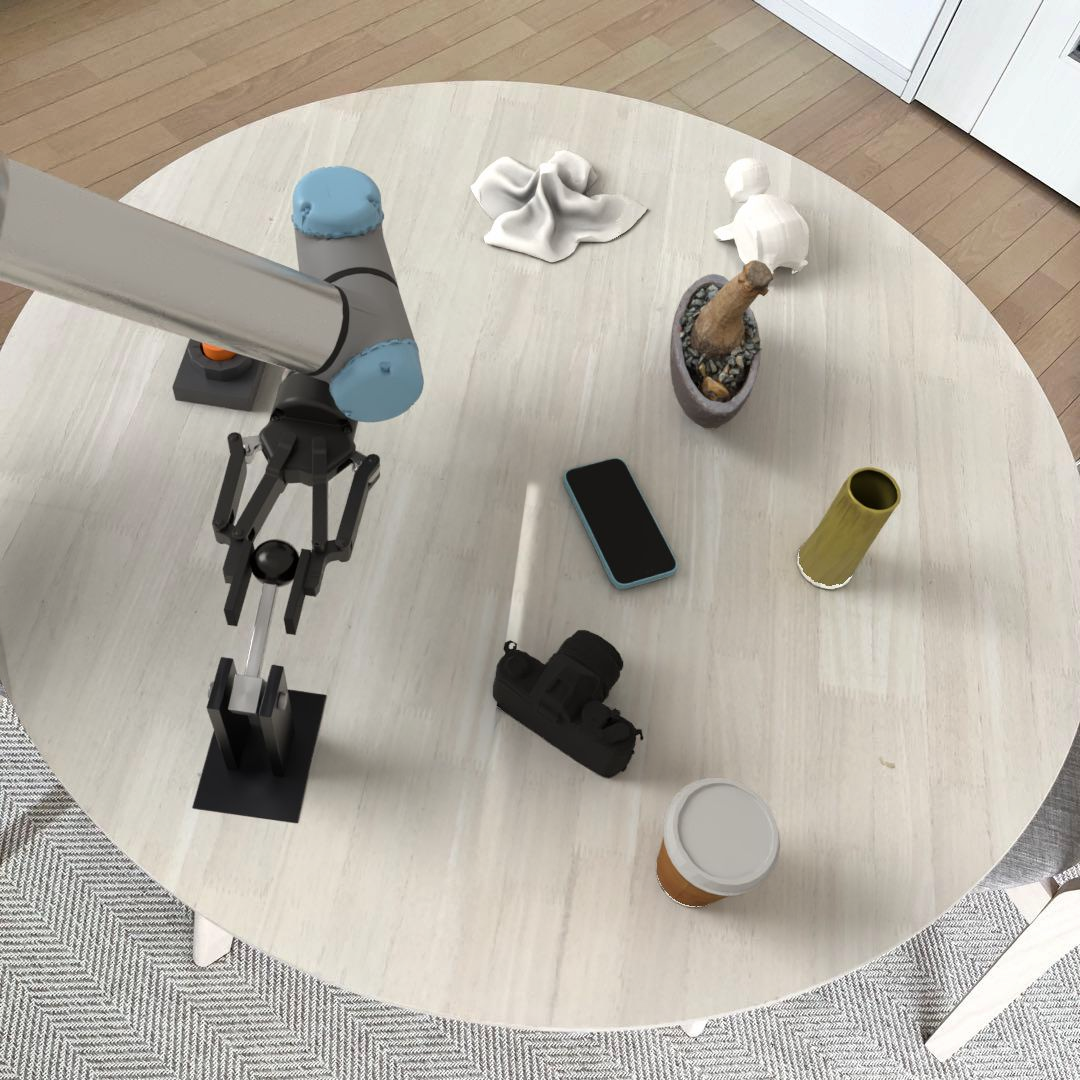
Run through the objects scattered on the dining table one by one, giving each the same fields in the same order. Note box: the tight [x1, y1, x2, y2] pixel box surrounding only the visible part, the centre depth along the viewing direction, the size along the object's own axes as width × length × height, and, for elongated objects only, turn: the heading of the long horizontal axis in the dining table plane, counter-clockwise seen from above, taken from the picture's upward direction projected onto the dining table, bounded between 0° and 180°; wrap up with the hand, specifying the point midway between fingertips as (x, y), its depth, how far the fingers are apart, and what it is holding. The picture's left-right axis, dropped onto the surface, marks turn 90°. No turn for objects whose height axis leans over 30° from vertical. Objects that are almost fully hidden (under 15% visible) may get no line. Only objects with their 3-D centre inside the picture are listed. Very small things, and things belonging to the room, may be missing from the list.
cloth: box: [470, 149, 630, 263], centre depth 139 cm, size 22×19×6 cm
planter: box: [669, 260, 775, 430], centre depth 120 cm, size 15×17×20 cm
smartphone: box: [563, 457, 678, 590], centre depth 117 cm, size 7×1×15 cm
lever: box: [228, 538, 300, 717], centre depth 91 cm, size 14×4×4 cm, turn 174°
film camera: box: [492, 629, 645, 779], centre depth 103 cm, size 15×10×9 cm, turn 56°
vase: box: [799, 466, 902, 586], centre depth 112 cm, size 6×6×14 cm
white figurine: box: [713, 157, 810, 276], centre depth 139 cm, size 9×8×15 cm
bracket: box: [191, 656, 327, 824], centre depth 94 cm, size 12×9×15 cm
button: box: [202, 343, 237, 361], centre depth 119 cm, size 4×4×2 cm
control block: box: [171, 339, 267, 413], centre depth 121 cm, size 8×10×4 cm
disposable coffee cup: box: [656, 777, 781, 908], centre depth 95 cm, size 10×10×12 cm
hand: (260, 621), depth 90 cm, fingers closed on lever, 4 cm apart
